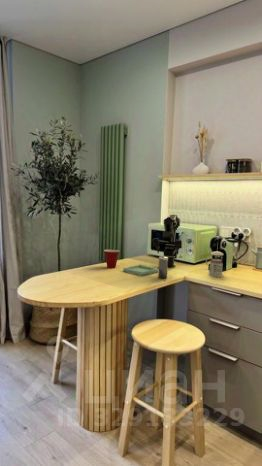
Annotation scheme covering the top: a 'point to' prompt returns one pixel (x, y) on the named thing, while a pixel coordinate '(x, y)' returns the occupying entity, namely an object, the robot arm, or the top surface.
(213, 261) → the french press
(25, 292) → the top surface
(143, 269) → the tray
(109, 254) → the plastic cup
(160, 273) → the cylinder
